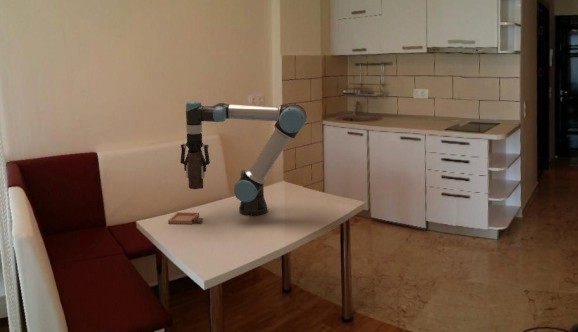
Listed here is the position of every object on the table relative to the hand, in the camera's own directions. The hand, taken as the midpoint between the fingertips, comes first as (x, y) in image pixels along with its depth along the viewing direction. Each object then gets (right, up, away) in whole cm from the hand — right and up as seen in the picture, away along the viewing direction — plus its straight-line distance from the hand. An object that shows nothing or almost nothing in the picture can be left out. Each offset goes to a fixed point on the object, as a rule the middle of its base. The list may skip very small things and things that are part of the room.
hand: (195, 177), depth 263 cm
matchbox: (+1, -23, -1) cm, 23 cm away
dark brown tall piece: (0, -6, +1) cm, 6 cm away
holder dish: (-6, -22, +3) cm, 23 cm away
